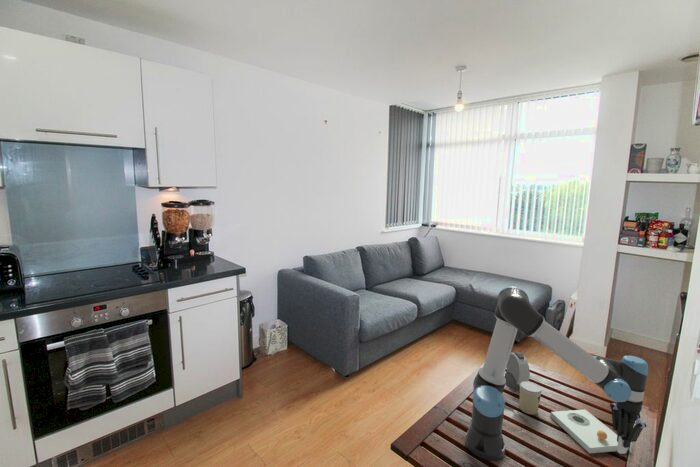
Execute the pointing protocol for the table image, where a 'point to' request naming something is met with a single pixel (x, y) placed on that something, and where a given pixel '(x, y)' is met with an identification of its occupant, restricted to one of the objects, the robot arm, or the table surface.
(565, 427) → the plate
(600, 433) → the ball
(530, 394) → the coffee cup
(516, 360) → the alarm clock
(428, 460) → the table surface
